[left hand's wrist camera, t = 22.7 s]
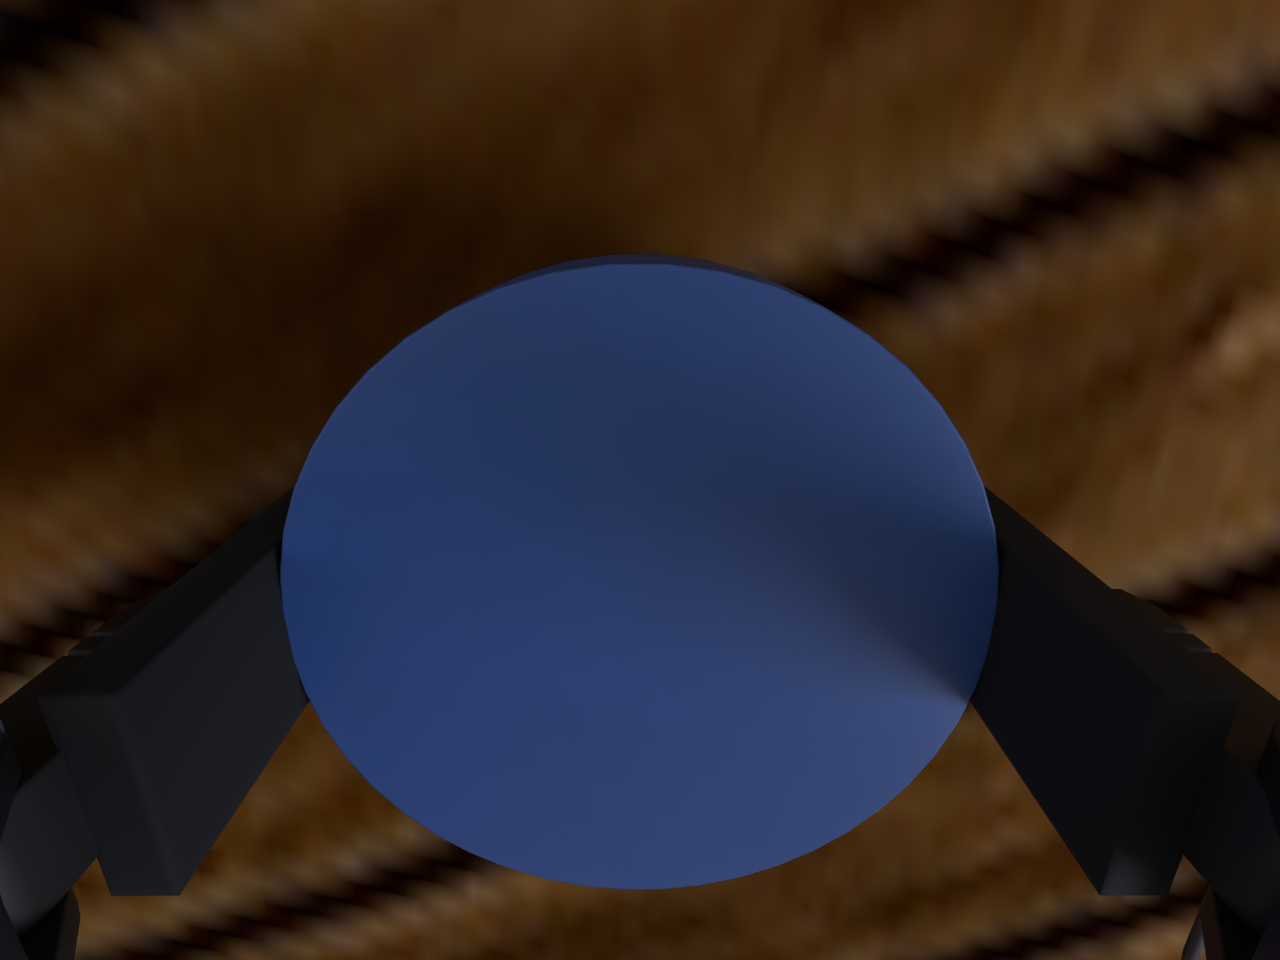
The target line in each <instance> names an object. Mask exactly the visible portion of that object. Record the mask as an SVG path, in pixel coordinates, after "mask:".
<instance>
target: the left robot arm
mask: <svg viewBox="0 0 1280 960" xmlns="http://www.w3.org/2000/svg"><path fill="white" fill-rule="evenodd" d="M294 487H295V486H294ZM294 487H293V488H292V489H291V490H289V491H288V492H287V493H286V494H284V495H283V496H282V497H281V498H279V499H278V500H277V501H276V502H275V503H273V504H272V505H271V506H270V507H268V508H267V509H266V510H265V511H263V512H262V513H261V514H260V515H258V516H257V517H256V518H255V519H253V520H252V521H251V522H250V523H249V524H247V525H246V526H245V527H244V528H242V529H241V530H240V531H239V532H237V533H236V534H235V535H234V536H232V537H231V538H230V539H229V540H227V541H226V542H225V543H224V544H223V545H221V546H220V547H219V548H218V549H216V550H215V551H214V552H213V553H211V554H210V555H209V556H208V557H206V558H205V559H204V560H203V561H201V562H200V563H199V564H198V565H196V566H195V567H194V568H193V569H192V570H190V571H189V572H188V573H187V574H185V575H184V576H183V577H182V578H180V579H179V580H178V581H177V582H175V583H174V584H173V585H172V586H170V587H169V588H168V589H167V590H166V591H164V592H158V593H156V594H154V595H152V596H149V597H147V598H145V599H143V600H141V601H139V602H137V603H135V604H133V605H131V606H129V607H127V608H125V609H123V610H121V611H120V612H118V613H117V614H116V615H115V616H113V617H112V618H111V619H109V620H108V621H107V622H106V623H104V624H103V625H102V626H100V627H99V628H98V629H97V630H95V631H94V632H93V635H92V637H86V638H85V639H84V640H82V641H81V642H80V643H79V644H77V645H76V646H75V647H73V648H72V649H71V650H70V651H69V654H68V656H62V657H60V658H59V659H58V660H57V661H55V662H54V663H53V664H51V665H50V666H49V667H48V668H46V669H45V670H44V671H42V672H41V673H40V674H39V675H37V676H36V677H35V678H33V679H32V680H31V681H30V682H28V683H27V684H26V685H24V686H23V687H22V688H21V689H19V690H18V691H17V692H15V693H14V694H13V695H12V696H10V697H9V698H8V699H6V700H5V701H4V702H3V703H1V704H0V960H74V955H75V949H76V942H77V936H78V929H79V923H80V912H79V907H78V902H77V899H76V897H75V894H74V892H73V889H72V886H73V885H74V883H75V882H76V881H77V880H78V879H79V877H80V876H81V875H82V874H83V873H84V871H85V870H86V869H87V868H88V867H89V865H90V864H91V863H92V862H93V861H94V860H95V858H96V857H97V859H98V861H99V864H100V866H101V869H102V872H103V874H104V877H105V880H106V882H107V885H108V888H109V890H110V893H111V896H166V895H180V894H181V892H182V891H183V889H184V888H185V886H186V885H187V883H188V882H189V880H190V879H191V877H192V876H193V874H194V873H195V871H196V870H197V868H198V867H199V865H200V864H201V862H202V861H203V859H204V858H205V856H206V855H207V853H208V852H209V850H210V849H211V847H212V846H213V844H214V843H215V841H216V840H217V838H218V837H219V835H220V834H221V832H222V831H223V829H224V828H225V826H226V825H227V823H228V822H229V820H230V819H231V817H232V816H233V814H234V813H235V811H236V810H237V808H238V807H239V805H240V804H241V802H242V801H243V799H244V798H245V796H246V795H247V793H248V792H249V790H250V789H251V787H252V786H253V784H254V783H255V782H256V780H257V779H258V777H259V776H260V774H261V773H262V771H263V770H264V768H265V767H266V765H267V764H268V762H269V761H270V759H271V758H272V756H273V755H274V753H275V752H276V750H277V749H278V747H279V746H280V744H281V743H282V741H283V740H284V738H285V737H286V735H287V734H288V732H289V731H290V729H291V728H292V726H293V725H294V723H295V722H296V720H297V719H298V717H299V716H300V714H301V713H302V711H303V710H304V708H305V707H306V705H307V704H308V702H309V701H310V700H309V698H308V697H307V695H306V693H305V691H304V688H303V685H302V683H301V680H300V677H299V675H298V672H297V669H296V666H295V662H294V658H293V654H292V649H291V644H290V640H289V635H288V630H287V625H286V621H285V616H284V611H283V605H282V599H281V588H280V563H281V552H282V540H283V530H284V526H285V522H286V518H287V514H288V510H289V506H290V502H291V498H292V494H293V490H294ZM984 488H985V491H986V495H987V499H988V503H989V507H990V510H991V514H992V518H993V522H994V526H995V533H996V543H997V553H998V563H999V585H998V601H997V607H996V612H995V617H994V622H993V627H992V631H991V636H990V641H989V646H988V651H987V655H986V659H985V663H984V666H983V669H982V672H981V675H980V678H979V680H978V683H977V686H976V689H975V691H974V693H973V694H972V696H971V698H970V702H971V703H972V705H973V706H974V708H975V709H976V711H977V712H978V714H979V715H980V717H981V718H982V720H983V721H984V723H985V724H986V726H987V727H988V729H989V730H990V732H991V733H992V735H993V736H994V738H995V739H996V741H997V742H998V744H999V745H1000V747H1001V748H1002V750H1003V751H1004V753H1005V754H1006V756H1007V757H1008V759H1009V760H1010V762H1011V763H1012V765H1013V766H1014V768H1015V769H1016V771H1017V772H1018V774H1019V775H1020V777H1021V778H1022V780H1023V781H1024V783H1025V784H1026V786H1027V787H1028V789H1029V790H1030V792H1031V793H1032V795H1033V796H1034V798H1035V799H1036V801H1037V802H1038V804H1039V805H1040V807H1041V808H1042V810H1043V811H1044V813H1045V814H1046V816H1047V817H1048V819H1049V820H1050V822H1051V823H1052V825H1053V826H1054V828H1055V829H1056V831H1057V832H1058V834H1059V835H1060V837H1061V838H1062V840H1063V841H1064V843H1065V844H1066V845H1067V847H1068V848H1069V850H1070V851H1071V853H1072V854H1073V856H1074V857H1075V859H1076V860H1077V862H1078V863H1079V865H1080V866H1081V868H1082V869H1083V871H1084V872H1085V874H1086V875H1087V877H1088V878H1089V880H1090V881H1091V883H1092V884H1093V886H1094V887H1095V889H1096V890H1097V892H1098V893H1099V895H1168V893H1169V890H1170V887H1171V885H1172V882H1173V880H1174V877H1175V874H1176V872H1177V869H1178V866H1179V864H1180V861H1181V858H1182V856H1183V854H1184V855H1185V856H1186V858H1187V859H1188V860H1189V861H1190V862H1191V864H1192V865H1193V866H1194V867H1195V868H1196V870H1197V871H1198V872H1199V873H1200V874H1201V876H1202V877H1203V878H1204V879H1205V880H1206V881H1207V883H1208V884H1209V887H1208V889H1207V892H1206V894H1205V897H1204V899H1203V902H1202V904H1201V906H1200V909H1199V911H1198V914H1197V916H1196V919H1195V921H1194V924H1193V926H1192V929H1191V931H1190V934H1189V936H1188V939H1187V941H1186V944H1185V946H1184V949H1183V953H1182V958H1181V960H1197V959H1198V956H1199V954H1201V953H1203V952H1205V953H1206V959H1207V960H1280V701H1279V700H1278V699H1276V698H1275V697H1274V696H1273V695H1271V694H1270V693H1269V692H1267V691H1266V690H1265V689H1263V688H1262V687H1261V686H1260V685H1258V684H1257V683H1256V682H1254V681H1253V680H1252V679H1250V678H1249V677H1248V676H1247V675H1245V674H1244V673H1243V672H1241V671H1240V670H1239V669H1238V668H1236V667H1235V666H1234V665H1232V664H1231V663H1230V662H1228V661H1227V660H1226V659H1225V658H1223V657H1222V656H1221V655H1219V654H1218V653H1212V651H1211V648H1210V647H1209V646H1208V645H1206V644H1205V643H1204V642H1202V641H1201V640H1200V639H1199V638H1197V637H1196V636H1195V635H1193V634H1188V633H1187V629H1186V628H1184V627H1183V626H1182V625H1180V624H1179V623H1178V622H1177V621H1175V620H1174V619H1173V618H1171V617H1170V616H1169V615H1167V614H1166V613H1165V612H1164V611H1162V610H1161V609H1160V608H1158V607H1156V606H1154V605H1152V604H1150V603H1148V602H1146V601H1144V600H1142V599H1140V598H1138V597H1136V596H1134V595H1131V594H1129V593H1127V592H1125V591H1123V590H1121V589H1111V588H1110V587H1109V586H1107V585H1106V584H1105V583H1104V582H1102V581H1101V580H1100V579H1099V578H1097V577H1096V576H1095V575H1094V574H1093V573H1091V572H1090V571H1089V570H1088V569H1086V568H1085V567H1084V566H1083V565H1081V564H1080V563H1079V562H1078V561H1076V560H1075V559H1074V558H1073V557H1071V556H1070V555H1069V554H1068V553H1067V552H1065V551H1064V550H1063V549H1062V548H1060V547H1059V546H1058V545H1057V544H1055V543H1054V542H1053V541H1052V540H1050V539H1049V538H1048V537H1047V536H1045V535H1044V534H1043V533H1042V532H1041V531H1039V530H1038V529H1037V528H1036V527H1034V526H1033V525H1032V524H1031V523H1029V522H1028V521H1027V520H1026V519H1024V518H1023V517H1022V516H1021V515H1019V514H1018V513H1017V512H1016V511H1015V510H1013V509H1012V508H1011V507H1010V506H1008V505H1007V504H1006V503H1005V502H1003V501H1002V500H1001V499H1000V498H998V497H997V496H996V495H995V494H993V493H992V492H991V491H990V490H989V489H987V488H986V487H985V486H984Z"/></svg>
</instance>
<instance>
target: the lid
mask: <svg viewBox="0 0 1280 960" xmlns="http://www.w3.org/2000/svg"><path fill="white" fill-rule="evenodd" d="M998 585H999V563H998V553H997V543H996V533H995V526H994V522H993V518H992V514H991V510H990V507H989V503H988V499H987V495H986V491H985V488H984V484H983V482H982V480H981V477H980V475H979V473H978V471H977V468H976V466H975V464H974V461H973V459H972V457H971V455H970V452H969V450H968V448H967V446H966V443H965V442H964V440H963V439H962V437H961V435H960V434H959V432H958V431H957V429H956V428H955V426H954V425H953V423H952V421H951V420H950V418H949V417H948V415H947V414H946V412H945V410H944V409H943V407H942V406H941V404H940V403H939V402H938V401H937V400H936V398H935V397H934V396H933V395H932V394H931V393H930V392H929V390H928V389H927V388H926V387H925V386H924V385H923V384H922V383H921V381H920V380H919V379H918V378H917V377H916V376H915V375H914V374H913V372H912V371H911V370H910V369H909V368H908V367H907V366H906V365H905V364H904V363H902V362H901V361H900V360H899V359H898V358H896V357H895V356H894V355H893V354H892V353H890V352H889V351H888V350H887V349H886V348H884V347H883V346H882V345H881V344H880V343H879V342H877V341H876V340H875V339H874V338H873V337H871V336H870V335H869V334H867V333H866V332H864V331H863V330H861V329H859V328H858V327H856V326H854V325H853V324H851V323H850V322H848V321H846V320H845V319H843V318H841V317H840V316H838V315H837V314H835V313H833V312H832V311H830V310H828V309H827V308H825V307H823V306H822V305H820V304H818V303H816V302H814V301H812V300H810V299H808V298H806V297H804V296H803V295H801V294H799V293H797V292H795V291H793V290H791V289H788V288H786V287H784V286H781V285H779V284H777V283H775V282H772V281H770V280H768V279H765V278H763V277H761V276H758V275H756V274H754V273H751V272H748V271H744V270H740V269H737V268H733V267H730V266H726V265H722V264H719V263H715V262H711V261H708V260H701V259H693V258H686V257H678V256H670V255H663V254H618V255H607V256H600V257H593V258H586V259H579V260H573V261H567V262H563V263H560V264H556V265H553V266H549V267H546V268H542V269H539V270H535V271H532V272H529V273H525V274H522V275H520V276H518V277H515V278H513V279H511V280H509V281H507V282H504V283H502V284H500V285H498V286H495V287H493V288H491V289H489V290H487V291H484V292H482V293H480V294H478V295H476V296H474V297H472V298H471V299H469V300H467V301H465V302H463V303H461V304H459V305H457V306H455V307H453V308H451V309H450V310H448V311H446V312H445V313H443V314H442V315H440V316H439V317H437V318H435V319H434V320H432V321H431V322H429V323H428V324H426V325H424V326H423V327H421V328H420V329H418V330H416V331H415V332H413V333H412V334H410V335H409V336H407V337H406V338H404V339H403V340H402V341H401V342H400V343H399V344H397V345H396V346H395V347H394V348H393V349H392V350H391V351H389V352H388V353H387V354H386V355H385V356H384V357H382V358H381V359H380V360H379V361H378V362H377V363H375V364H374V365H373V366H372V367H371V368H370V369H368V370H367V372H366V373H365V374H364V375H363V376H362V377H361V379H360V380H359V381H358V382H357V383H356V384H355V386H354V387H353V388H352V389H351V390H350V391H349V393H348V394H347V395H346V396H345V397H344V398H343V400H342V401H341V402H340V403H339V404H338V405H337V407H336V408H335V410H334V411H333V413H332V414H331V416H330V418H329V419H328V421H327V422H326V424H325V426H324V427H323V429H322V430H321V432H320V434H319V435H318V437H317V439H316V440H315V442H314V443H313V445H312V447H311V449H310V451H309V454H308V456H307V458H306V461H305V463H304V465H303V468H302V470H301V473H300V475H299V477H298V480H297V482H296V484H295V487H294V490H293V494H292V498H291V502H290V506H289V510H288V514H287V518H286V522H285V526H284V530H283V540H282V552H281V563H280V588H281V599H282V605H283V611H284V616H285V621H286V625H287V630H288V635H289V640H290V644H291V649H292V654H293V658H294V662H295V666H296V669H297V672H298V675H299V677H300V680H301V683H302V685H303V688H304V691H305V693H306V695H307V697H308V698H309V700H310V702H311V704H312V706H313V708H314V710H315V711H316V713H317V715H318V717H319V719H320V721H321V723H322V724H323V726H324V728H325V729H326V731H327V732H328V733H329V735H330V736H331V737H332V739H333V740H334V742H335V743H336V744H337V746H338V747H339V749H340V750H341V751H342V753H343V754H344V755H345V757H346V758H347V759H348V760H349V762H350V763H351V764H352V765H353V766H354V767H355V768H356V769H357V770H358V771H359V772H360V773H361V774H362V775H363V777H364V778H365V779H366V780H367V781H368V782H369V783H370V784H371V785H372V786H373V787H374V788H375V789H376V790H377V791H378V792H380V793H381V794H382V795H383V796H384V797H385V798H387V799H388V800H389V801H390V802H391V803H393V804H394V805H395V806H396V807H397V808H398V809H400V810H401V811H402V812H403V813H405V814H406V815H408V816H409V817H411V818H412V819H414V820H415V821H416V822H418V823H419V824H421V825H422V826H424V827H425V828H427V829H428V830H430V831H431V832H433V833H434V834H436V835H438V836H440V837H441V838H443V839H445V840H447V841H449V842H451V843H453V844H455V845H457V846H459V847H460V848H462V849H464V850H466V851H468V852H470V853H472V854H475V855H477V856H480V857H482V858H485V859H487V860H490V861H492V862H495V863H497V864H500V865H502V866H504V867H507V868H511V869H514V870H517V871H521V872H524V873H528V874H531V875H535V876H538V877H541V878H545V879H551V880H556V881H561V882H566V883H572V884H577V885H582V886H593V887H604V888H615V889H666V888H676V887H686V886H696V885H703V884H708V883H713V882H718V881H723V880H728V879H733V878H738V877H742V876H745V875H748V874H752V873H755V872H758V871H762V870H765V869H768V868H772V867H775V866H778V865H780V864H782V863H785V862H787V861H790V860H792V859H794V858H797V857H799V856H802V855H804V854H807V853H809V852H811V851H813V850H815V849H817V848H819V847H821V846H823V845H825V844H826V843H828V842H830V841H832V840H834V839H836V838H837V837H839V836H841V835H843V834H845V833H847V832H848V831H850V830H851V829H852V828H854V827H855V826H857V825H858V824H860V823H861V822H863V821H864V820H866V819H867V818H868V817H870V816H871V815H873V814H874V813H876V812H877V811H879V810H880V809H881V808H882V807H883V806H884V805H886V804H887V803H888V802H889V801H890V800H891V799H892V798H894V797H895V796H896V795H897V794H898V793H899V792H901V791H902V790H903V789H904V788H905V787H906V786H907V785H909V783H910V782H911V781H912V780H913V779H914V778H915V777H916V776H917V775H918V773H919V772H920V771H921V770H922V769H923V768H924V767H925V766H926V765H927V764H928V762H929V761H930V760H931V759H932V758H933V757H934V756H935V754H936V753H937V752H938V750H939V749H940V747H941V746H942V745H943V743H944V742H945V740H946V739H947V737H948V736H949V735H950V733H951V732H952V730H953V729H954V727H955V726H956V725H957V723H958V721H959V719H960V717H961V715H962V714H963V712H964V710H965V708H966V706H967V704H968V702H969V700H970V698H971V696H972V694H973V693H974V691H975V689H976V686H977V683H978V680H979V678H980V675H981V672H982V669H983V666H984V663H985V659H986V655H987V651H988V646H989V641H990V636H991V631H992V627H993V622H994V617H995V612H996V607H997V601H998Z"/></svg>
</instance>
